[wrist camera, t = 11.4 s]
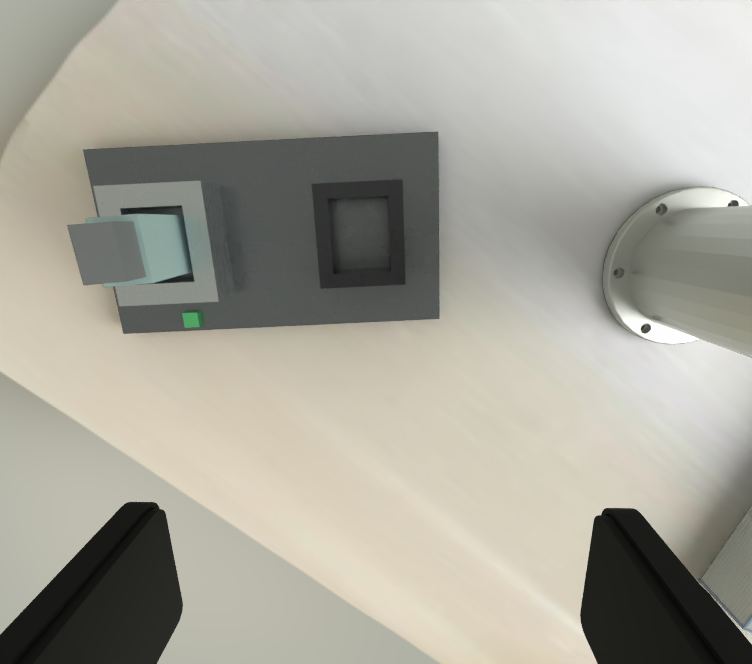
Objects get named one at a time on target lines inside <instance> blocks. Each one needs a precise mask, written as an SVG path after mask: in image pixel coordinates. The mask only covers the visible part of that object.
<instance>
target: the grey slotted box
mask: <svg viewBox="0 0 752 664" xmlns="http://www.w3.org/2000/svg"><path fill="white" fill-rule="evenodd" d="M699 581H700V582H701V583H702V584H703V586H704V587H705V588H706V589H707V590H708V591H709V592H710V593H711V594H712V596H713V597H714V598H715V599H716V600H717V601H718V602H719V603H720V604H721V605H722V607H723V608H724V609H725V610H726V611H727V612H728V613H729V614H730V615H731V617H732V618H733V619H734V620H735V621H736V622H737V623H738V624H739V625H740V626H741V628H742V629H744V630H747V631H749V632H752V506H751V507H750V509H749V510H748V512H747V513H746V515H745V516H744V517H743V519H742V520H741V522H740V523H739V525H738V526H737V528H736V529H735V530H734V532H733V533H732V535H731V536H730V538H729V539H728V541H727V542H726V543H725V545H724V546H723V548H722V549H721V551H720V552H719V553H718V555H717V556H716V558H715V559H714V561H713V562H712V564H711V565H710V566H709V568H708V569H707V571H706V572H705V574H704V575H703V577H702V578H701V579H699Z"/></svg>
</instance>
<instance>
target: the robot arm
mask: <svg viewBox="0 0 752 664" xmlns="http://www.w3.org/2000/svg"><path fill="white" fill-rule="evenodd" d="M614 270H615V273H614ZM613 273H614V274H613ZM603 291H604V295H605V299H606V302H607V305H608V307H609V309H610V311H611V313H612V315H613V316H614V317H615V318H616V320H617V321H618V322H619V323H620V324H621V325H622V326H623V327H624V328H626V329H627V330H628V331H629V332H631V333H633V334H635V335H637V336H639V337H641V338H644V339H646V340H649V341H652V342H655V343H662V344H683V343H688V342H692V341H697V340H699V339H702V340H704V341H707V342H710V343H713V344H715V345H718V346H721V347H724V348H726V349H729V350H732V351H735V352H737V353H740V354H743V355H746V356H749V357H751V358H752V206H750V205H749V204H748V203H747V202H745V201H744V200H743V199H742V198H740V197H739V196H737V195H735V194H733V193H731V192H729V191H726V190H722V189H718V188H714V187H692V188H683V189H679V190H675V191H671V192H668V193H665V194H663V195H661V196H659V197H656V198H654V199H652V200H651V201H649V202H648V203H646V204H645V205H643V206H642V207H640V208H639V209H638V210H637V211H636V212H635V213H634V214H633V215H632V216H631V217H629V218H628V219H627V221H626V222H625V223H624V224H623V226H622V227H621V228H620V230H619V231H618V232H617V234H616V236H615V238H614V240H613V241H612V243H611V245H610V247H609V250H608V253H607V256H606V259H605V263H604V270H603ZM182 606H183V603H182V597H181V592H180V587H179V581H178V577H177V571H176V566H175V560H174V555H173V550H172V545H171V540H170V534H169V530H168V524H167V519H166V514H165V512H164V510H161V509H159V506H158V505H157V504H156V503H154V502H128V503H126V504H124V506H122V507H121V508H120V509H119V510H118V511H117V512H116V513H115V515H113V517H112V518H111V519H110V520H109V521H108V522H107V523H106V524H105V525H104V526H103V527H102V528H101V529H100V530H99V531H98V532H97V533H96V534H95V535H94V537H93V538H92V539H91V540H90V541H89V542H88V543H87V544H86V545H85V546H84V547H83V548H82V549H81V550H80V551H79V552H78V553H77V555H76V556H75V557H74V558H73V559H72V560H71V561H70V562H69V563H68V564H67V565H66V566H65V567H64V568H63V569H62V570H61V571H60V572H59V573H58V574H57V576H56V577H55V578H54V579H53V580H52V581H51V582H50V583H49V584H48V585H47V586H46V587H45V588H44V589H43V590H42V592H40V594H39V595H38V596H37V597H36V598H35V599H34V600H33V601H32V602H31V603H30V604H29V605H28V606H27V607H26V608H25V609H24V610H23V612H21V613H20V615H19V616H18V617H17V618H16V619H15V620H14V621H13V622H12V623H11V624H10V625H9V626H8V627H7V628H6V629H5V631H3V633H2V634H1V635H0V664H157V662H158V660H159V658H160V656H161V654H162V652H163V650H164V649H165V647H166V645H167V643H168V641H169V639H170V638H171V636H172V634H173V632H174V630H175V628H176V626H177V624H178V622H179V620H180V617H181V614H182ZM580 616H581V624H582V628H583V631H584V634H585V636H586V639H587V641H588V643H589V645H590V647H591V650H592V652H593V654H594V656H595V658H596V661H597V663H598V664H752V644H751V643H750V642H749V641H748V640H747V638H746V637H745V636H744V635H743V634H742V632H741V631H740V630H739V629H738V628H737V627H736V625H735V624H734V623H733V622H732V621H731V619H730V618H729V617H728V616H727V615H726V613H725V612H724V611H723V610H722V609H721V607H720V606H719V605H718V604H717V603H716V601H715V600H714V599H713V598H712V597H711V595H710V594H709V593H708V592H707V591H706V590H705V589H704V588H703V587H702V586H701V585H700V584H699V583H698V582H697V581H696V579H695V578H694V577H693V576H692V575H691V573H690V572H689V571H688V570H687V569H686V567H685V566H684V565H683V564H682V563H681V561H680V560H679V559H678V558H677V557H676V555H675V554H674V553H673V552H672V551H671V549H670V548H669V547H668V546H667V545H666V543H665V542H664V541H663V540H662V539H661V537H660V536H659V535H658V534H657V533H656V531H655V530H654V529H653V528H652V527H651V525H650V524H649V523H648V522H647V520H646V519H645V518H644V517H643V516H642V514H641V513H640V512H639V511H637V510H636V509H631V508H606V509H604V510H603V512H602V515H601V516H596V517H595V519H594V524H593V531H592V538H591V544H590V551H589V558H588V565H587V572H586V578H585V585H584V592H583V599H582V606H581V614H580Z"/></svg>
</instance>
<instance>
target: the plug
mask: <svg viewBox="0 0 752 664" xmlns="http://www.w3.org/2000/svg"><path fill="white" fill-rule="evenodd" d="M86 222H87V224H76V225H67V226H68V230H69V234H70V237H71V241H72V245H73V248H74V252H75V256H76V259H77V263H78V267H79V270H80V274H81V278H82V281H83V285H92V284H103V287H111V286H123V285H135V284H148V283H155V282H158V281H162V280H166V279H169V278H173V277H176V276H180V275H183V274H187V273H191V272H193V269H192V263H191V257H190V251H189V245H188V239H187V233H186V227H185V221H184V215H160V214H128V215H117V216H105V217H93V218H86Z"/></svg>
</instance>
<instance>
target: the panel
mask: <svg viewBox="0 0 752 664" xmlns="http://www.w3.org/2000/svg"><path fill="white" fill-rule="evenodd" d="M83 151H84V156H85V161H86V165H87V170H88V174H89V179H90V183H91V188H92V192H93V197H94V201H95V206H96V211H97V215H98V217H105V216H117V215H128V214H160V215H184V221H185V227H186V233H187V239H188V245H189V251H190V257H191V263H192V269H193V272H191V273H187V274H183V275H180V276H176V277H173V278H169V279H166V280H162V281H158V282H155V283H148V284H135V285H123V286H113V288H114V293H115V297H116V302H117V306H118V311H119V315H120V320H121V324H122V329H123V334H128V333H149V332H170V331H191V330H212V329H233V328H254V327H276V326H297V325H318V324H339V323H360V322H381V321H402V320H423V319H439V178H438V132H422V133H402V134H383V135H363V136H343V137H323V138H304V139H284V140H264V141H245V142H225V143H205V144H186V145H166V146H146V147H126V148H107V149H87V150H83Z"/></svg>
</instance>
